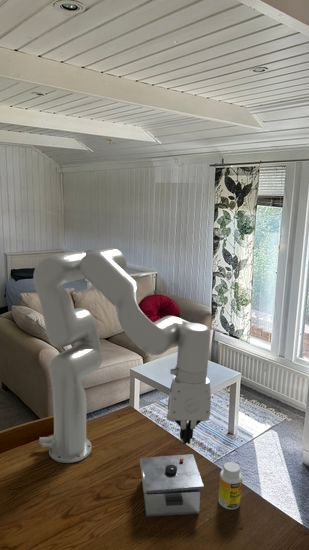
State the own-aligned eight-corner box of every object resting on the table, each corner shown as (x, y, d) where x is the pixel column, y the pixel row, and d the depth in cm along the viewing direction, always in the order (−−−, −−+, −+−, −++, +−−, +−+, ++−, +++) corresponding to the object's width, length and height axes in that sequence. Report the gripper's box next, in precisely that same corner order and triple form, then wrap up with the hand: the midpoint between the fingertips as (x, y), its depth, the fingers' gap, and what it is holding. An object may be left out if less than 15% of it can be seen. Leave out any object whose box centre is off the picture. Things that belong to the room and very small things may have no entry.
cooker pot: (147, 521, 98) (147, 499, 97) (141, 476, 114) (142, 457, 113) (200, 518, 99) (201, 496, 98) (187, 474, 115) (188, 454, 114)
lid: (143, 493, 98) (143, 488, 98) (139, 460, 111) (139, 455, 110) (203, 489, 100) (203, 483, 100) (192, 456, 112) (193, 451, 112)
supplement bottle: (228, 514, 101) (231, 476, 99) (213, 500, 105) (215, 464, 104) (245, 505, 104) (247, 469, 102) (229, 492, 109) (232, 457, 107)
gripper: (163, 380, 96) (158, 450, 100) (225, 380, 98) (218, 449, 102) (159, 366, 104) (155, 432, 107) (217, 367, 105) (210, 432, 109)
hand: (185, 440), depth 105 cm, fingers closed
